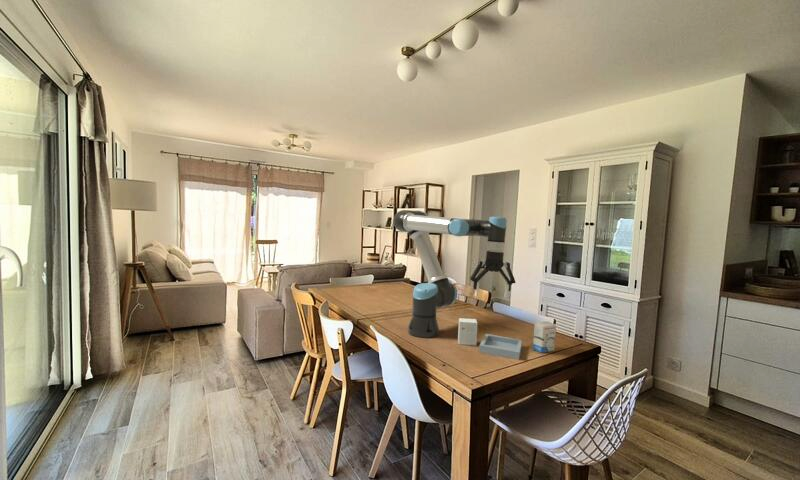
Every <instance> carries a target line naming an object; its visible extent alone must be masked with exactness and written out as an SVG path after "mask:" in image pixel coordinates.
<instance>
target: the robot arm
mask: <svg viewBox="0 0 800 480" xmlns="http://www.w3.org/2000/svg"><path fill="white" fill-rule="evenodd" d="M393 225H394V227H395V229H396V230H397V231H399V232H403V233H408V236H409V239H412V240H414V244H415V247H416V250H417V253H418V256H419V258H420V262H421V265H422V267H423V270H424V273H425V275H426V279H427V280H428V281H427V282H422V283H418V284H416V285H415V286H414V288H413V292H412V312H411V313H412V316H411V319H410V322H409V323H408V327H407V333H408V334H409V335H411V336H413V337H416V338H417V337H418V338H424V339H425V338H434V337H437V336H439V335H440V327H439V322H438V319H437V309H442V308H446V307H449V306H451V305H454V303H456V300H457V298H458V289H457V286H455V284H453V283H451V282H450V280H449V278H448V277H447V276H445V275H444V272H443V270H442V266H441V264H440V262H439V259H438V256H437V253H436V250H435V248H434V246H433V243H432V239H431V237H430V233H436V234H444V235H452V236H453V237H473V236H474V237H484V238H485V237H486V238H487V242H486V243H487V245H486V250H487V251H486V255H485V261H483V260H478V263H477V266H476V267H475V269H474V270H473V272H472V273H471V276H470V277H469V280H470V281H472V282H473V288H472V289H473V290H474V297H475V298H478V297H479V291H480V290H479V289H480V288H479V287H480V282H479V281H480V280H482V278H483V277H484V276H485V275H486V274H487V273H488V272H490V273H491V272H495V273H498V272H499V274H500V275H501V276H502V277H503V279H504V280H505V282H506V283H504V293H503V298H504V299H506V300H507V299H508V298H509V292H511V288H512V285H513V284H516V280H515V277H514V274H513V272H512V269H511V263H510V262H507V261H506V262H504V255H505V253H504V251H505V245H506V244H505V243H506V242H505V241H506V232H507V229H508V228H507V218H506V217H504V216H490V217H489V219H488V220H487V219H486V220H484V219H475V218H470V219H469V218H468V219H467V218H454V217H442V216H433V215H432V216H431V215H429V214H428V213H426V212H425V211H422V210H408V209H405V210H404V209H403V210H399V211H397V212H396V213H395V214H394V216H393ZM484 265H485V267H484V268H483V270H482V271H480V270H481V269H482V267H483V266H484ZM503 267H505V269H506V272H507V274H506V273H505V271H504V270H503V269H502V268H503ZM479 272H480V273H479Z"/></svg>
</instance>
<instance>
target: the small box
mask: <svg viewBox="0 0 800 480" xmlns="http://www.w3.org/2000/svg"><path fill="white" fill-rule="evenodd" d="M478 325H479V324H478V321H477V318H461V317H460V318H458V331H457V342H458V345H463V346H477V343H478V341H477V340H478V339H477V338H478Z"/></svg>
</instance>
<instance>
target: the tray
mask: <svg viewBox="0 0 800 480" xmlns="http://www.w3.org/2000/svg"><path fill="white" fill-rule="evenodd" d="M483 336H484V337H483V338H482V340H481V342H480V343H479V346H478V347H479V348H478V349H479V350H478V352H479V353H482V354H487V355H491V356H492V355H493V356H498V357H503V358H507V359H514V360H518V361H519V360H520V357H521V353H522V347H523V340H522V339H517V338H514V337H513V338H511V337H506V336H501V335H495V334H491V333H490V334H489V333H485V334H484V335H483Z"/></svg>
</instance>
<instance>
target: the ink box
mask: <svg viewBox="0 0 800 480" xmlns="http://www.w3.org/2000/svg"><path fill="white" fill-rule="evenodd" d="M533 327H534V329H533V343H532V344H533V346H532V350H534V351H536V352H539V353H541V354H545V353H548V352H553V351H554V352H555V346H556V336H557V335H556V333H557V324H556V323H553V322H550V321H541V322H535V323H534V326H533Z"/></svg>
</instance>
